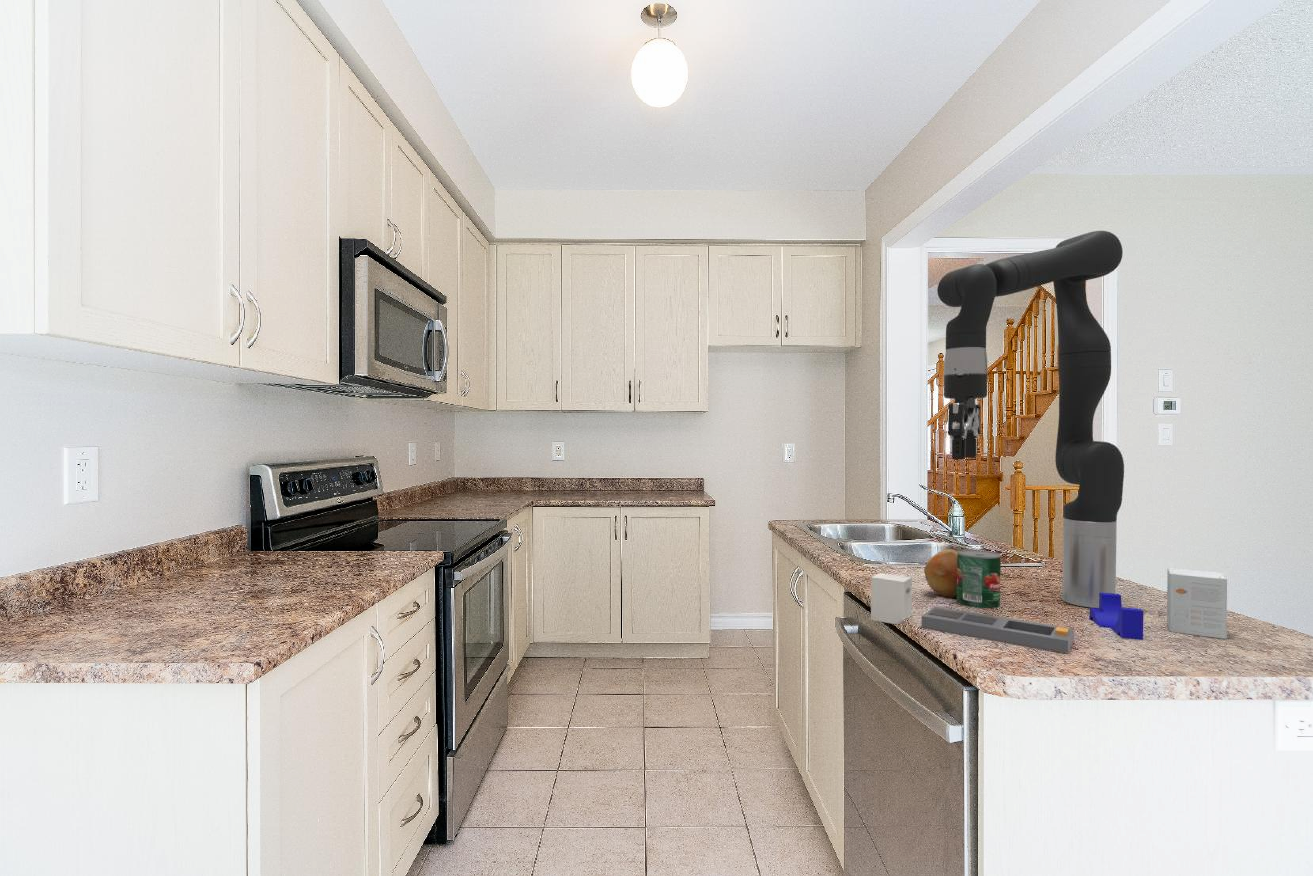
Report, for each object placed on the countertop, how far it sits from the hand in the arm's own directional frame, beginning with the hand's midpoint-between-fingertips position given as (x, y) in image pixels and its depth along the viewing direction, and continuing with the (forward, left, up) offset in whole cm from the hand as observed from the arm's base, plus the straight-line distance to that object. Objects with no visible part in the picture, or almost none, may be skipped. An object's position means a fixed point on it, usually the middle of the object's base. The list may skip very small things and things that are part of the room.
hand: (964, 458), depth 128 cm
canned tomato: (-8, +1, -30) cm, 31 cm away
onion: (-14, -6, -30) cm, 34 cm away
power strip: (+12, +8, -30) cm, 33 cm away
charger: (+11, -10, -30) cm, 34 cm away
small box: (-15, +35, -30) cm, 49 cm away
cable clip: (-5, +24, -30) cm, 39 cm away
